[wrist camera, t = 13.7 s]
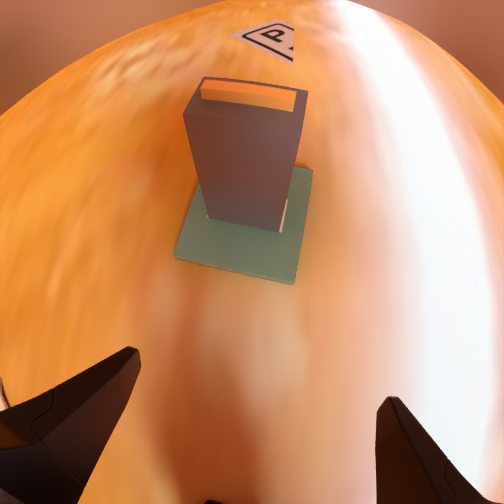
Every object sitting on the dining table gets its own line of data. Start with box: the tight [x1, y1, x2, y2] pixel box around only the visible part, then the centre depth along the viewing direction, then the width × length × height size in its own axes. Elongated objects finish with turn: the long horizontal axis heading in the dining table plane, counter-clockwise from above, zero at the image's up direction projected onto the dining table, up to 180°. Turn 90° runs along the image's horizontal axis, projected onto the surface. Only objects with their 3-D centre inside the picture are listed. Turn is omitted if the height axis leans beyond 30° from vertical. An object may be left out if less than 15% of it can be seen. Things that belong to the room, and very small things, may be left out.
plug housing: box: [183, 77, 308, 233], centre depth 19 cm, size 3×6×13 cm, turn 78°
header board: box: [173, 166, 313, 285], centre depth 24 cm, size 11×10×4 cm
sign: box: [229, 19, 294, 66], centre depth 36 cm, size 12×1×30 cm
